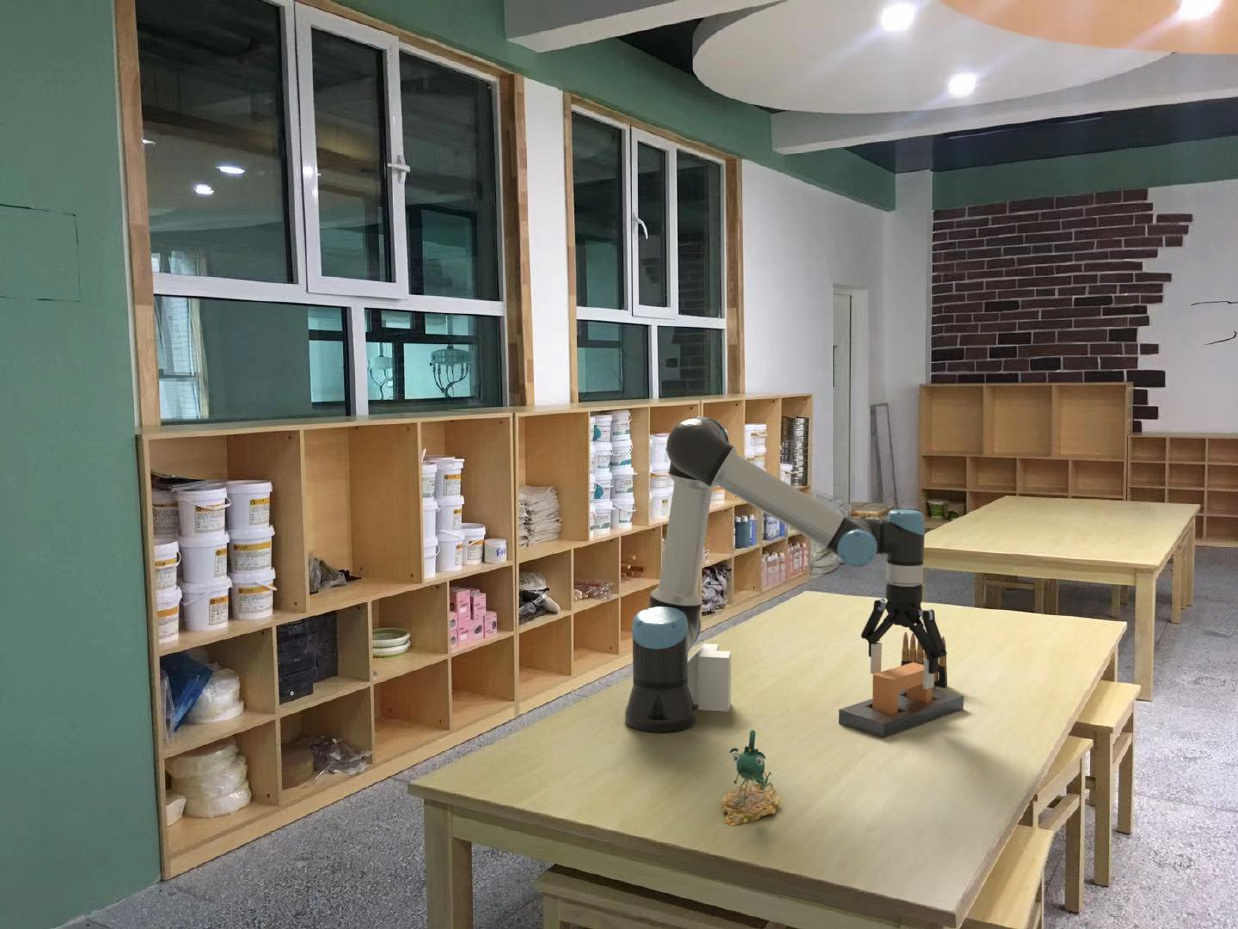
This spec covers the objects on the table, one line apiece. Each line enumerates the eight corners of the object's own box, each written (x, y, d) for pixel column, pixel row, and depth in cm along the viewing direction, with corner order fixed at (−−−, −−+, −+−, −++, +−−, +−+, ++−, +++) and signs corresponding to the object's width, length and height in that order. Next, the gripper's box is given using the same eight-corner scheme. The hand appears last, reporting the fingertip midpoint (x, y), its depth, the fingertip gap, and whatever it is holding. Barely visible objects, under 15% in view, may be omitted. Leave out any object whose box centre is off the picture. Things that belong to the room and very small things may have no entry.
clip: (891, 726, 219) (892, 679, 218) (872, 720, 223) (872, 674, 222) (931, 712, 227) (932, 667, 226) (912, 706, 231) (913, 662, 230)
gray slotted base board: (883, 738, 212) (883, 723, 211) (838, 723, 221) (839, 709, 220) (963, 709, 229) (963, 695, 229) (919, 696, 238) (919, 683, 238)
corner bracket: (728, 711, 229) (728, 658, 228) (677, 708, 231) (677, 655, 230) (733, 696, 239) (733, 645, 238) (684, 693, 242) (683, 642, 241)
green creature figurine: (801, 795, 184) (799, 717, 181) (754, 845, 170) (751, 761, 167) (752, 783, 190) (750, 706, 187) (703, 829, 175) (699, 748, 172)
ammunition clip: (899, 681, 250) (900, 632, 248) (902, 679, 251) (902, 630, 250) (945, 688, 244) (946, 638, 243) (947, 686, 246) (948, 636, 245)
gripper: (966, 590, 215) (962, 691, 217) (868, 571, 234) (865, 663, 236) (944, 595, 210) (941, 698, 212) (846, 575, 230) (844, 669, 232)
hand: (901, 680), depth 224 cm, fingers open, 13 cm apart
